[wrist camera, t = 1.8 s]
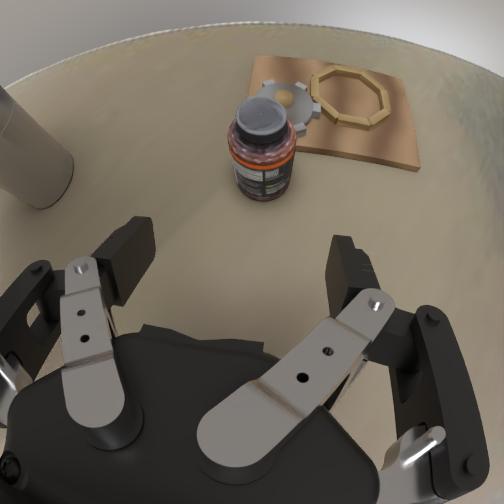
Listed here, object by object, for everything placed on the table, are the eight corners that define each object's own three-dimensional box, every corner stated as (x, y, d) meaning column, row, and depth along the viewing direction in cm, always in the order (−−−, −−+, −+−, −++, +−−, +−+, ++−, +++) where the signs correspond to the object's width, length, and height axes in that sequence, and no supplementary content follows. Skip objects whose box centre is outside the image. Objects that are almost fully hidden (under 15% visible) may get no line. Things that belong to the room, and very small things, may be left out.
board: (240, 145, 33) (238, 125, 29) (255, 60, 36) (255, 40, 32) (416, 172, 31) (431, 156, 27) (399, 84, 35) (407, 67, 31)
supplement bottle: (261, 146, 32) (260, 77, 21) (301, 177, 31) (317, 113, 20) (224, 179, 32) (207, 116, 21) (264, 213, 31) (264, 159, 20)
